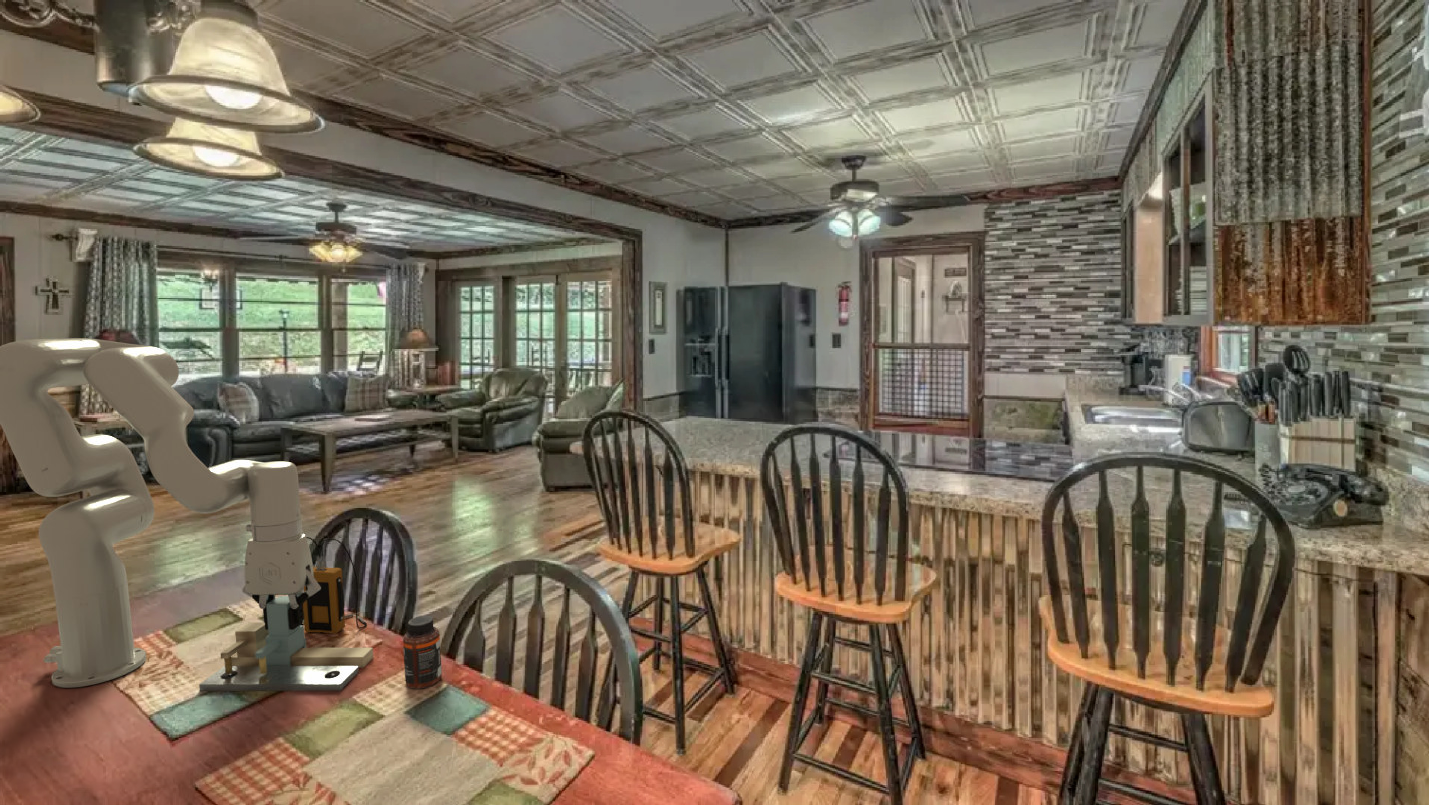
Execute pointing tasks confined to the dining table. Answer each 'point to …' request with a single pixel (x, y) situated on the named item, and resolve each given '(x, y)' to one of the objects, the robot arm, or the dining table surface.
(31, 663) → the dining table surface
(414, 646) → the supplement bottle
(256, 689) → the flange plate
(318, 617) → the multimeter
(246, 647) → the trammel rail
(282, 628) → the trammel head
